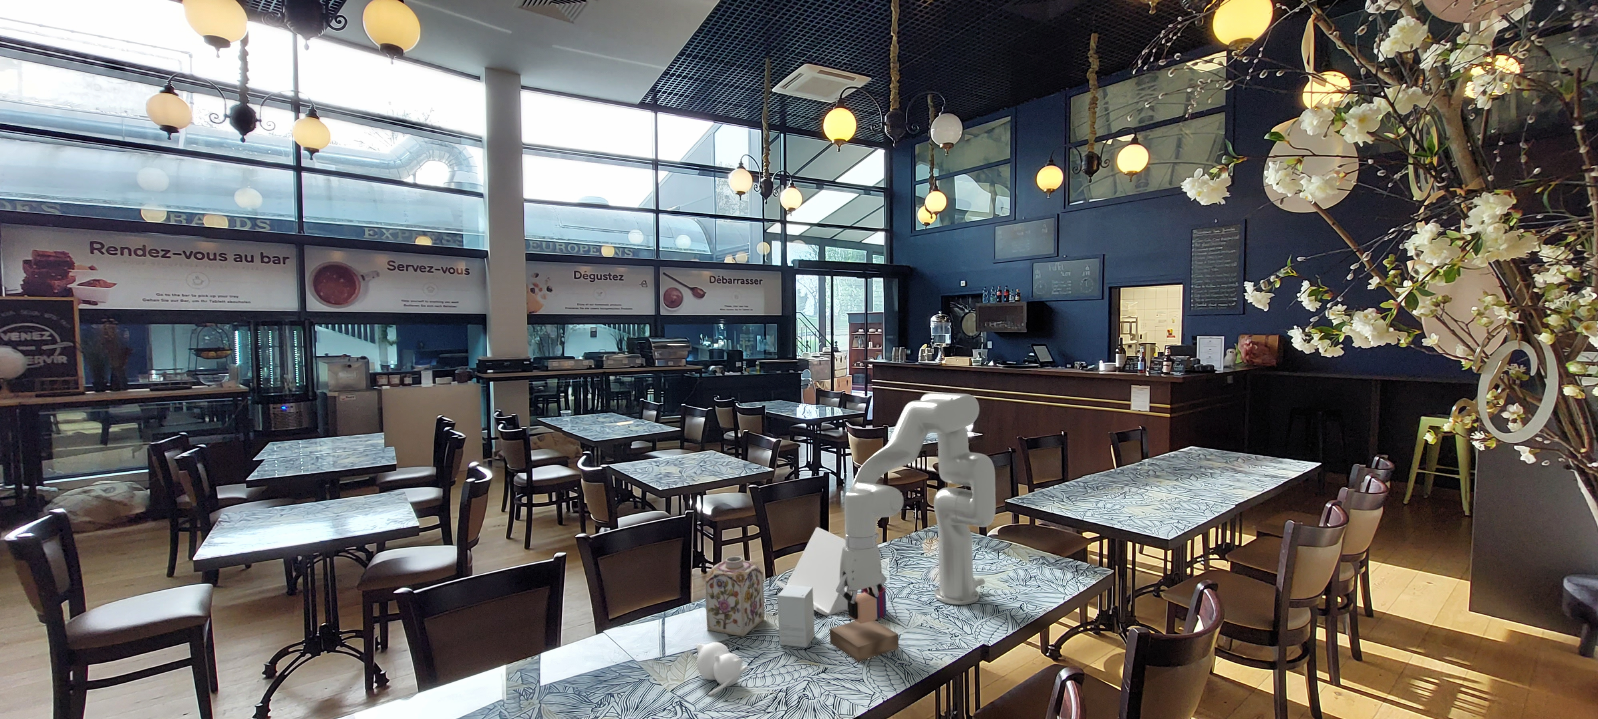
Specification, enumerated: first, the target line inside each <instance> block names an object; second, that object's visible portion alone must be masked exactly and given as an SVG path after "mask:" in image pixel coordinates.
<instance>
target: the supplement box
mask: <svg viewBox="0 0 1598 719" xmlns="http://www.w3.org/2000/svg"><path fill="white" fill-rule="evenodd" d="M786 585H787V584H786ZM776 597H777V611H778V612H777V613H778V615H777V616H778V634H779V635H778V636H779V645H780V646H781V645H782V646H789V647H797V648H798V647H799V648H807V647H808V646H809V644H810V643H811V642H812V640H813V639H814V637H815V635H816V633H815V610H814V605H813V587H804V586H792V585H787V586H786V587H785V588H784V589H783V588H782V590H781V591H780V592H779V593H778V594H777V595H776Z"/></svg>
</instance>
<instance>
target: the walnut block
mask: <svg viewBox="0 0 1598 719" xmlns="http://www.w3.org/2000/svg"><path fill="white" fill-rule="evenodd" d="M829 643H830V644H831V645H833V647H835V646H836V647H835V648H837V649H838V648H839V649H838V650H840V651H841V650H842V651H841V652H843V653H844V652H845V653H844V654H846V655H847V654H848V655H847V656H849V655H850V656H851V657H852V658H851V657H850V656H849V657H850V658H851V659H853V658H854V659H855V660H854V659H853V660H854V661H856V660H857V661H858V662H857V661H856V662H857V663H861V662H864V661H867V660H869V659H868V658H870V659H873V658H875V657H874V656H876V657H879V656H882V655H885V654H887V653H890V652H893V651H896V650H899V649H900V648H899V633H898V632H895V631H893V630H892V629H891V628H888V627H887V626H885V625H884V624H881V623H880V622H878V621H876V620H872V621H869V622H866V623H862V624H860V623H858V622H856V621H855V620H853V621H850V622H848V623H844V624H841V625H837V626H834V627H831V628H829ZM881 654H882V655H881ZM878 655H879V656H878ZM872 657H873V658H872ZM866 659H867V660H866ZM863 660H864V661H863ZM860 661H861V662H860Z"/></svg>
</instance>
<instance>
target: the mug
mask: <svg viewBox="0 0 1598 719" xmlns="http://www.w3.org/2000/svg"><path fill="white" fill-rule="evenodd" d="M886 591H887V590H886V587H885V586H884V585H882V588H881V590H880V591H879V596H878V597H877V619H882V618H884V617H885V616H886V615H887V594H886V593H887V592H886ZM864 592H865V593H866V594H869V593H868V589H867V588H865V589H861V591H860V593H864Z"/></svg>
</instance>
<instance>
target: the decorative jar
mask: <svg viewBox="0 0 1598 719" xmlns="http://www.w3.org/2000/svg"><path fill="white" fill-rule="evenodd" d="M763 573H764V572H763V571H762V570H761V569H760V567H759V566H758V565H757V564H755V563H754V562H753V561H751V560H744V558H743V557H742V556H740V555H739V556H737V555H735V556H733V555H732V556H729V557H727V558H725V560H724V561H721V562H719V563H717V564H715V565H714V566H712V567H711V569H710V571H709V573H708V575H707V576H706V579H705V609H706V610H705V611H706V612H705V613H706V615H705V616H706V630H707V631H710V632H715V633H722V634H725V635H726V634H727V635H731V636H737V637H745V636H746V635H748V633H750V632H751V631H752V630H754V628H755V627H757V626H758V625H759V624H761V623H762V622H763V621H764V620H765V595H764V594H765V591H764V574H763Z"/></svg>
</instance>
